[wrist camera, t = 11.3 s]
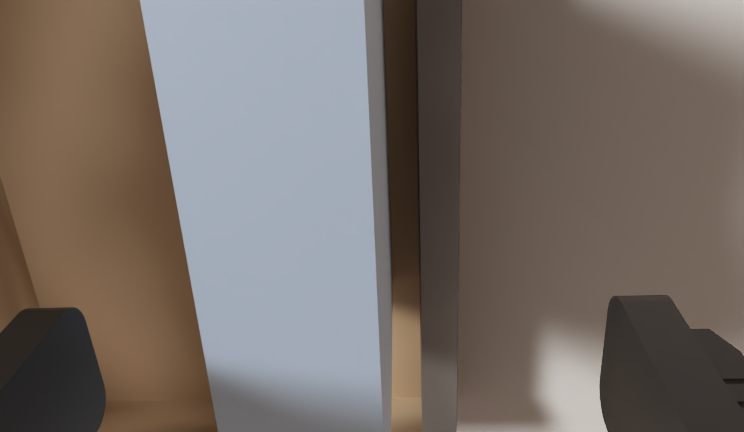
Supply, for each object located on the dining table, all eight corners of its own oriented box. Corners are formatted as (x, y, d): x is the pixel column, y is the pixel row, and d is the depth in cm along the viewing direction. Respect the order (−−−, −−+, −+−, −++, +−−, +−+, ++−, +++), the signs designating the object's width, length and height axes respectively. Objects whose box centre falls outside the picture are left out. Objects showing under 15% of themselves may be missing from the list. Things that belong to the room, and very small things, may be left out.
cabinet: (453, -299, 15) (538, -581, 6) (448, 400, 24) (481, 710, 15) (-147, -263, 16) (-860, -467, 7) (59, 405, 24) (-138, 705, 15)
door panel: (380, -76, 16) (361, -38, 7) (392, 281, 21) (390, 583, 12) (278, -72, 16) (134, -28, 7) (310, 283, 21) (245, 583, 12)
